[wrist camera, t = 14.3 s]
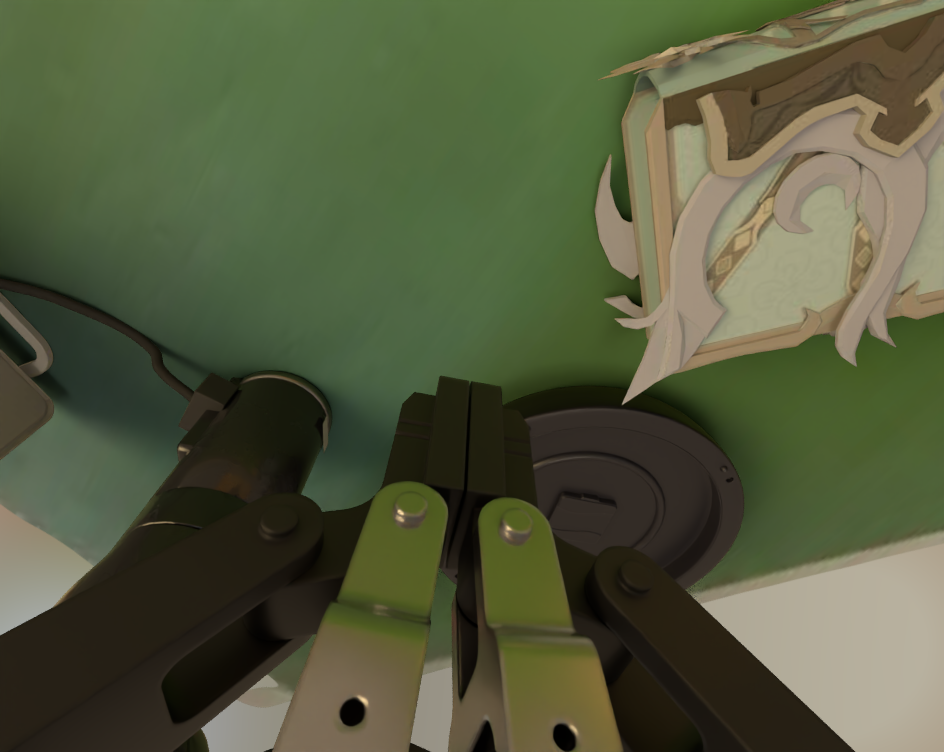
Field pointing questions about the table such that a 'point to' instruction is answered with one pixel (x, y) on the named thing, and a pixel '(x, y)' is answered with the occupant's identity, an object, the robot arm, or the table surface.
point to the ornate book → (783, 185)
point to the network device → (22, 385)
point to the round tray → (631, 478)
